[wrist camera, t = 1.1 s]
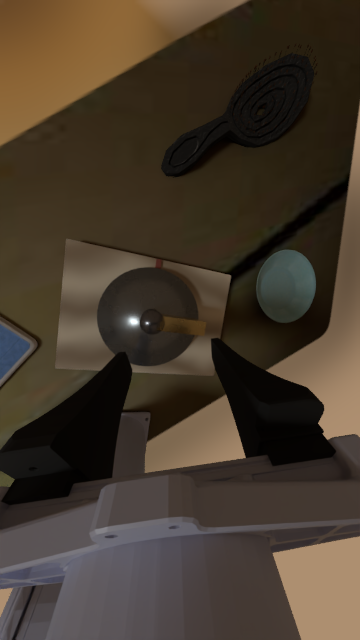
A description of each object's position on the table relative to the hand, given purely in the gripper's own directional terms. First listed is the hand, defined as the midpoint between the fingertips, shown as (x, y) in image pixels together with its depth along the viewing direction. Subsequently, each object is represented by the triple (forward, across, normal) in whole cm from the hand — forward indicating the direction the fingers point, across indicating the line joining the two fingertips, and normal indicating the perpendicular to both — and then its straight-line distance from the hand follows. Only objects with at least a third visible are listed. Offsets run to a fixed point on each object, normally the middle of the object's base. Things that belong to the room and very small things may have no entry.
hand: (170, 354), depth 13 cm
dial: (+9, +3, 0) cm, 9 cm away
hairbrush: (+22, -13, -21) cm, 33 cm away
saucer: (+15, -19, +2) cm, 25 cm away
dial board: (+10, +3, +1) cm, 11 cm away
